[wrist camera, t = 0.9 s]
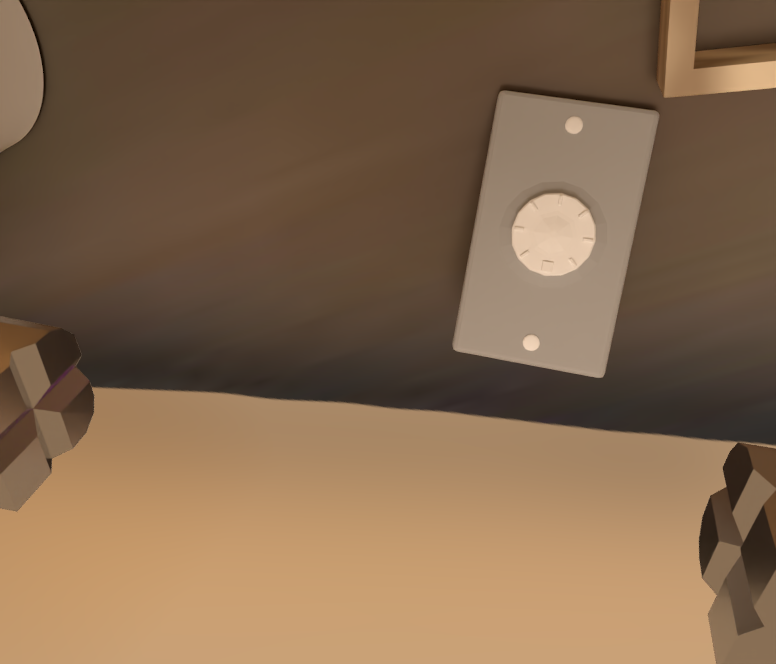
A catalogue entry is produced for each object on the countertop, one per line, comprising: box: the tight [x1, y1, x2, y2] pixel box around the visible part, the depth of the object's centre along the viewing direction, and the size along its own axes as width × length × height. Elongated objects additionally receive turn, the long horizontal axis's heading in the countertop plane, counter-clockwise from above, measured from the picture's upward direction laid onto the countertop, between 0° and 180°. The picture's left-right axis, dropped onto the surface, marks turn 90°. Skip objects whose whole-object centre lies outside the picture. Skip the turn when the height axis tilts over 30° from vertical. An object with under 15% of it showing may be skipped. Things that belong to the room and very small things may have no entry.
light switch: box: [452, 90, 659, 378], centre depth 38 cm, size 8×6×14 cm
